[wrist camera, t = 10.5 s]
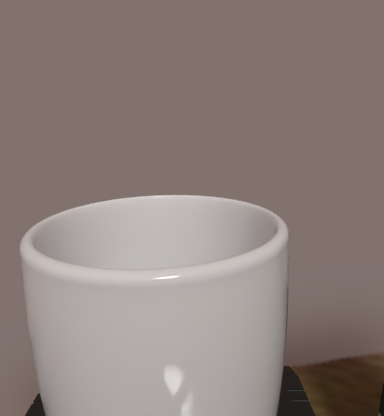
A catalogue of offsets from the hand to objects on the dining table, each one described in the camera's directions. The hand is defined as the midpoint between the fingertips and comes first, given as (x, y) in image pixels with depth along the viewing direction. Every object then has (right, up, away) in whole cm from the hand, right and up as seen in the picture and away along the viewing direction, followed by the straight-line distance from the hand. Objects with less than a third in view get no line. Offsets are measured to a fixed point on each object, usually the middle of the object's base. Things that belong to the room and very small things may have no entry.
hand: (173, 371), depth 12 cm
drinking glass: (0, -8, 0) cm, 9 cm away
